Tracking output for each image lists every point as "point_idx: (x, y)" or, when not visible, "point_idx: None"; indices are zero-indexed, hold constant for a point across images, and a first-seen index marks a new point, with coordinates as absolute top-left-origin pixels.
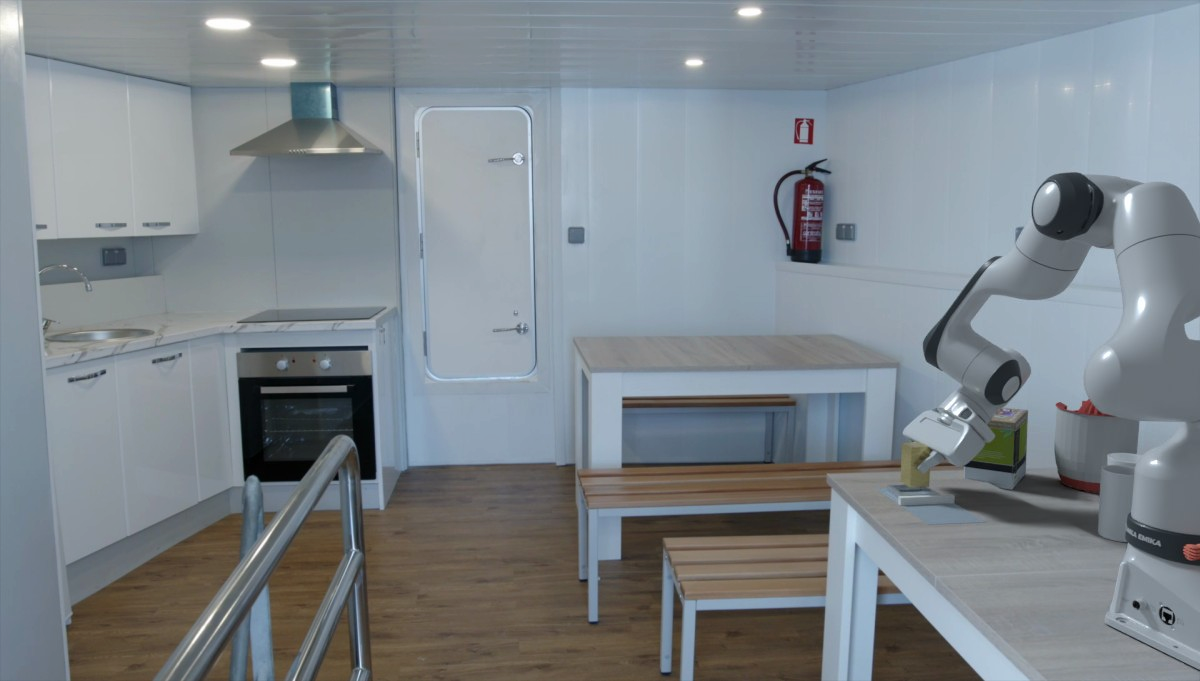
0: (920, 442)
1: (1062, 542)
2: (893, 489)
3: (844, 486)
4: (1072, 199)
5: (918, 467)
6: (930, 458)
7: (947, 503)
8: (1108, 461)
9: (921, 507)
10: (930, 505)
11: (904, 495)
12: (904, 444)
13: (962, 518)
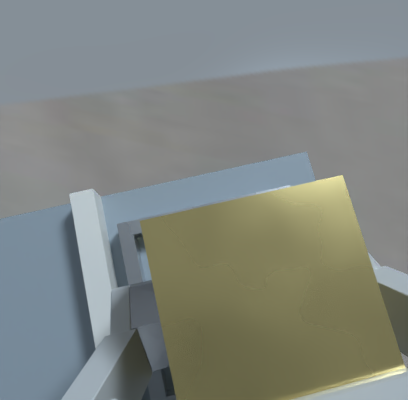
0: (375, 376)
1: None
2: (226, 199)
3: (376, 65)
4: None
5: (120, 287)
6: (73, 387)
7: None
8: None
9: (52, 283)
10: (82, 332)
11: (132, 226)
12: (288, 187)
13: None
